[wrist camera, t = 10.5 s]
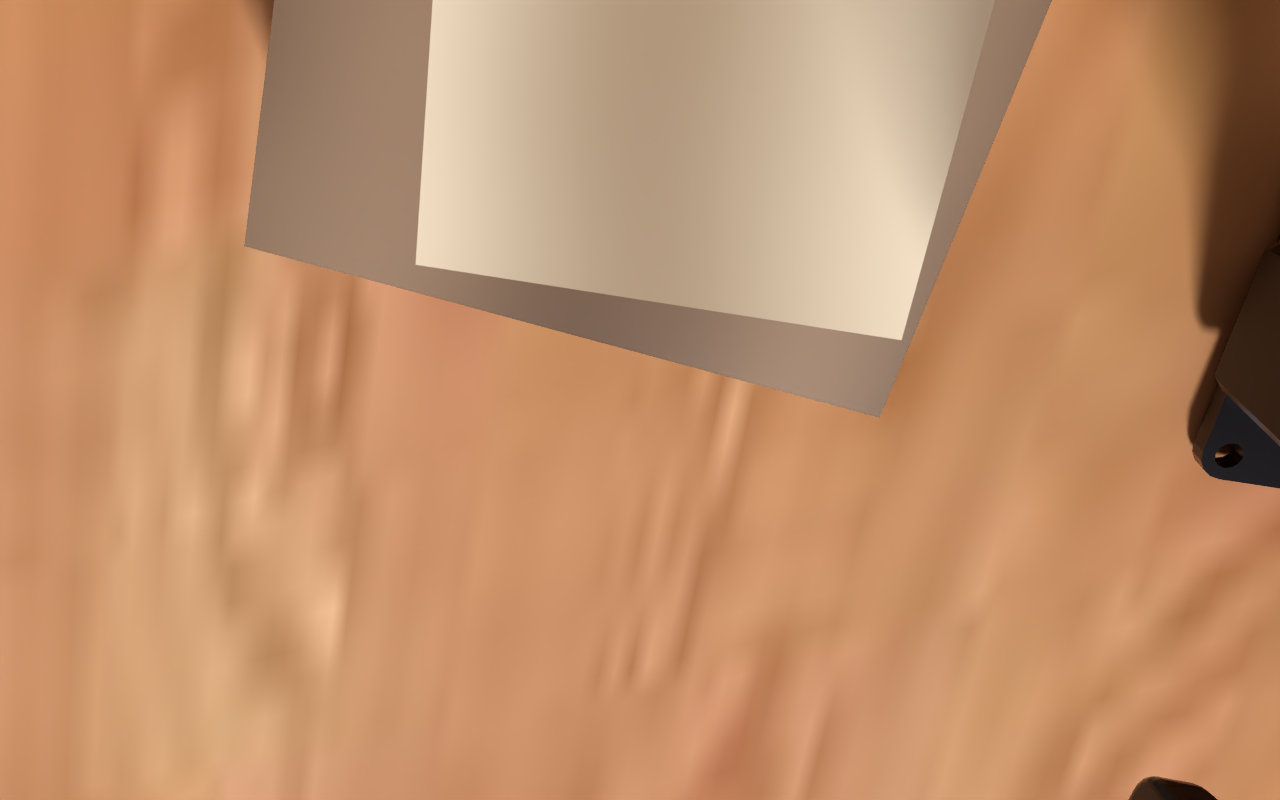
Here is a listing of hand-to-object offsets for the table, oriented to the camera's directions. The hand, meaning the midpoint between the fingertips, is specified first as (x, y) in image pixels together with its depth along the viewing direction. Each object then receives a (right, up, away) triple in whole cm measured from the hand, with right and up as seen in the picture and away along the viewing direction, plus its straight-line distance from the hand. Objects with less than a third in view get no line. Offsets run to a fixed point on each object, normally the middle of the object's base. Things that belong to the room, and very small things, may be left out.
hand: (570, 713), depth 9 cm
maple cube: (+1, +8, +6) cm, 10 cm away
